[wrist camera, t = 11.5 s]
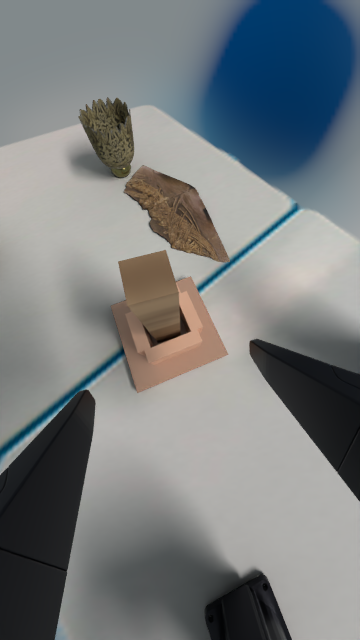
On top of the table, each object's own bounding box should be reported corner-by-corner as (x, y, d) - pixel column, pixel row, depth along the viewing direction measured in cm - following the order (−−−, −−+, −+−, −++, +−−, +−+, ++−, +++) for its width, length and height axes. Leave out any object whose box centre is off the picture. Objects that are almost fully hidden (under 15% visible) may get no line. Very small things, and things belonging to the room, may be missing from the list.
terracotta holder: (226, 355, 23) (238, 350, 18) (139, 392, 21) (127, 397, 17) (190, 279, 26) (192, 258, 21) (113, 308, 25) (96, 293, 20)
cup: (98, 165, 33) (73, 103, 26) (134, 154, 34) (120, 91, 26) (108, 191, 31) (84, 132, 24) (147, 179, 32) (136, 119, 24)
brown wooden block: (180, 336, 22) (178, 292, 10) (158, 342, 22) (127, 305, 10) (174, 315, 23) (165, 250, 11) (152, 321, 23) (118, 261, 10)
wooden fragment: (115, 181, 32) (113, 174, 31) (165, 159, 34) (164, 152, 33) (191, 284, 26) (192, 281, 25) (248, 251, 28) (251, 246, 27)
